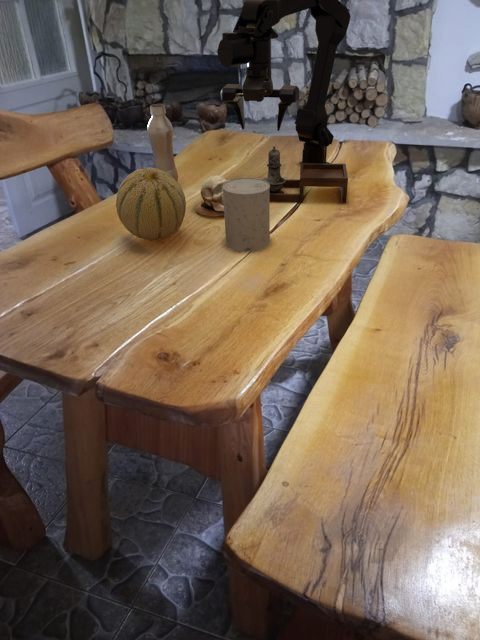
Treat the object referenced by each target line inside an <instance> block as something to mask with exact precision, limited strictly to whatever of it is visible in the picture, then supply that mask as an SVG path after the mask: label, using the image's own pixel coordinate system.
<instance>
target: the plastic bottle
mask: <svg viewBox="0 0 480 640" xmlns="http://www.w3.org/2000/svg"><path fill="white" fill-rule="evenodd" d="M149 108H150V109H149V110H150V115H151V118H150V119H149V121H148V124H147V127H146V128H147V130H146V131H147V135H148V138H149V142H150V146H151V151H152V153H151V154H152V160H153V161H152V162H153V168H156V169H159V170H162V171H165V172H166V173H168V174H170V175H171V176H172V177H173V178H174V179H175V180H176V181H177V183H178V182H179V174H178V170H177V167H176V163H175V162H176V161H175V156H174V145H173V144H174V143H173V142H174V127H173V124H172V123H171V121H170V119H169V118H168V117H167V116H166V114H167V110H166V105H165V104H163V103H155V104H151V105H150V106H149Z"/></svg>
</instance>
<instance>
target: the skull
mask: <svg viewBox="0 0 480 640" xmlns="http://www.w3.org/2000/svg"><path fill="white" fill-rule="evenodd" d="M227 181H228V180H227V179H226V178H225V177H224V176H222V175H212V176H210V177H209V178H207V179H206V180H204V182H203V184H202V186H201V188H200V196H201V198H202V201H203V202H201V203H199V204H197V205H196V207H195V208H194V210H195V212H196V213H197V214H200V215H204V216H209V217H210V216H211V217H216V216H218V217H219V216H224V198H223V188H222V186H223V184H224V183H225V182H227Z"/></svg>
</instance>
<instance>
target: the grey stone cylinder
mask: <svg viewBox="0 0 480 640" xmlns="http://www.w3.org/2000/svg"><path fill="white" fill-rule="evenodd" d="M262 179H263V178H259V177H258V178H257V177H236V178H233V179H229V180H227V182H225V183H224V184H223V186H222V188H223V198H224V215H223V216H224V233H225V234H224V235H225V246H226V247H227V248H229V249H230V250H232V251H236V252H241V253H253V252H258V251H261V250H265V249H266V248H268V246H270V244H271V239H270V238H271V237H270V233H271V232H270V231H271V230H270V226H271V224H270V220H271V219H270V218H271V217H270V213H271V212H270V211H271V210H270V209H271V208H270V202H269V188H270V184H269V183H268V182H267V181H265V180H262Z"/></svg>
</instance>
